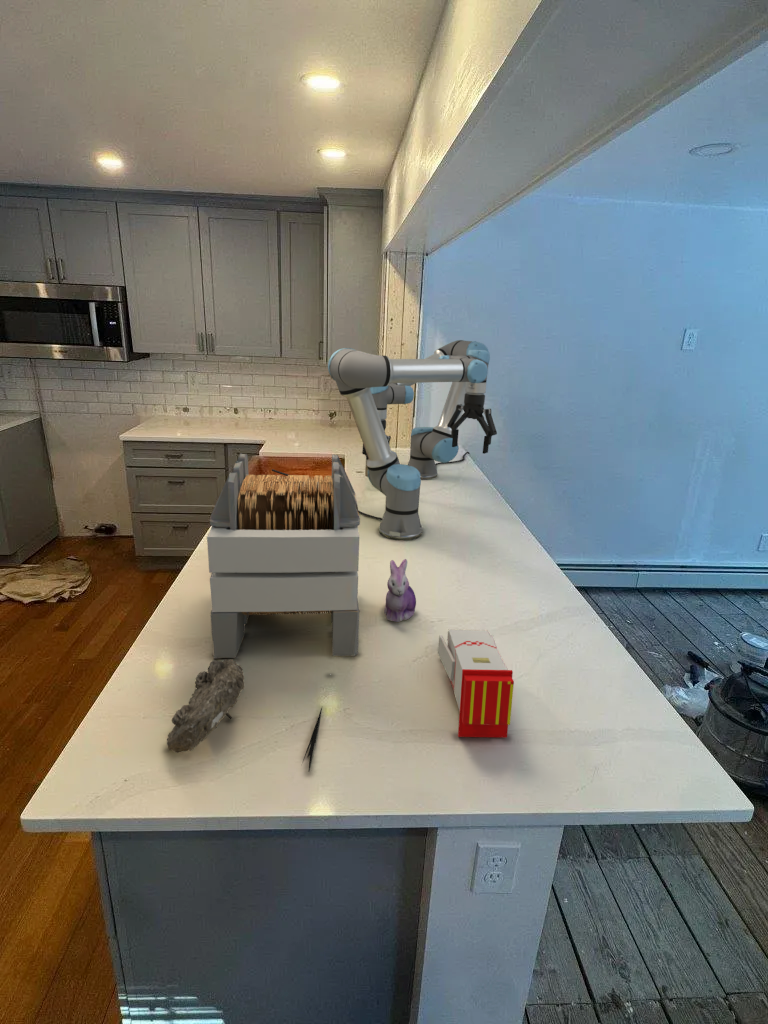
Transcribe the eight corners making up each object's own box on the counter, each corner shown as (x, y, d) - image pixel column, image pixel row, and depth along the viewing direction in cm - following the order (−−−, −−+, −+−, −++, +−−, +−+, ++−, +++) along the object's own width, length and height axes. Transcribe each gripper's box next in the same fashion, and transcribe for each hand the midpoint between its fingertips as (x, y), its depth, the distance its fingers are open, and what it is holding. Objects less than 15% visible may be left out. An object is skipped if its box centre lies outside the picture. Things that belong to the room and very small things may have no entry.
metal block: (365, 476, 243) (365, 460, 240) (374, 473, 247) (374, 457, 245) (374, 478, 239) (375, 462, 237) (383, 476, 244) (384, 460, 241)
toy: (488, 613, 130) (523, 677, 101) (484, 667, 133) (517, 744, 104) (435, 612, 130) (455, 676, 101) (432, 666, 133) (451, 743, 103)
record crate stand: (232, 588, 156) (224, 444, 142) (351, 587, 160) (354, 446, 146) (210, 660, 125) (198, 483, 111) (359, 656, 128) (364, 485, 115)
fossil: (192, 660, 117) (244, 628, 112) (224, 691, 120) (276, 661, 115) (142, 746, 98) (202, 712, 93) (182, 779, 101) (242, 748, 96)
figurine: (392, 627, 141) (395, 572, 136) (374, 608, 149) (376, 556, 144) (425, 619, 145) (429, 566, 140) (405, 601, 154) (408, 550, 149)
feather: (331, 679, 122) (336, 673, 122) (307, 777, 96) (313, 769, 95) (324, 675, 122) (329, 669, 121) (298, 772, 95) (304, 764, 95)
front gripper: (441, 390, 214) (437, 445, 221) (500, 398, 199) (493, 457, 206) (452, 388, 219) (447, 442, 227) (510, 396, 205) (503, 454, 212)
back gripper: (354, 416, 238) (352, 470, 245) (388, 423, 227) (385, 479, 235) (366, 414, 243) (364, 467, 251) (400, 421, 232) (397, 476, 240)
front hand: (469, 449), depth 216 cm, fingers open, 13 cm apart
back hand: (374, 472), depth 243 cm, fingers closed on metal block, 5 cm apart
